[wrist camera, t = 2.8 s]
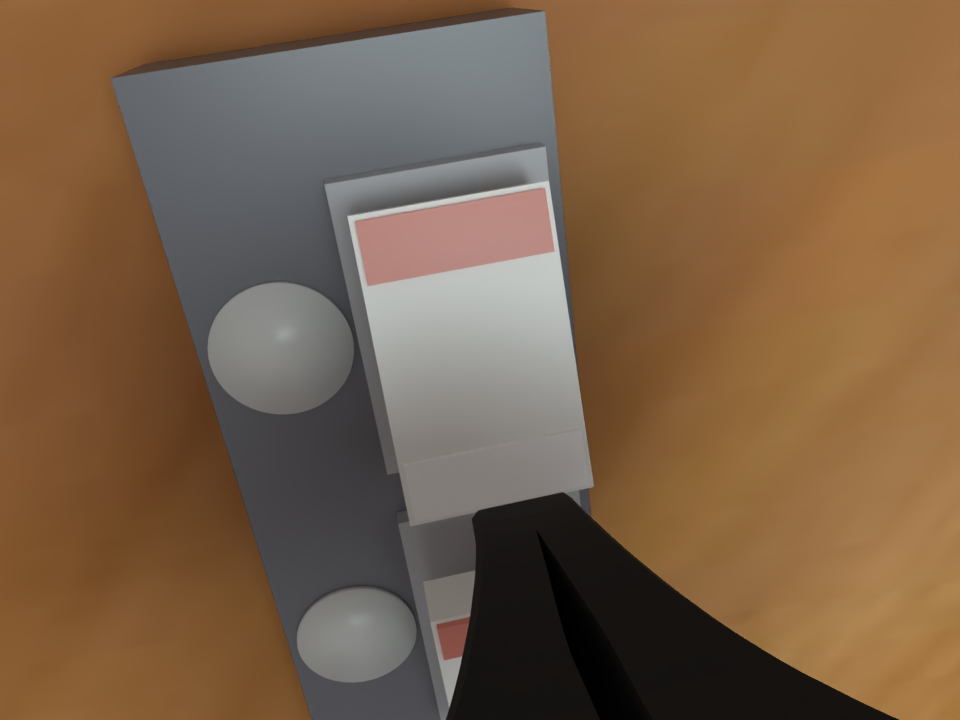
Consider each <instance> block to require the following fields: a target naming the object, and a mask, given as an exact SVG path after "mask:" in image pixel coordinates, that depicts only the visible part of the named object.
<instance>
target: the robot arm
mask: <svg viewBox="0 0 960 720" xmlns="http://www.w3.org/2000/svg"><path fill="white" fill-rule="evenodd" d="M472 524H473V530H474V536H475V542H476V564H475V580H474V589H473V597H472V605H471V614H470V620H469V626H468V631H467V636H466V640H465V645H464V650H463V655H462V660H461V665H460V669H459V674H458V678H457V681H456V685H455V689H454V693H453V697H452V700H451V704H450V707H449V711H448V714H447V717H446V720H899V719H896V718H894V717H892V716H889V715H887V714H885V713H883V712H881V711H879V710H876V709H874V708H872V707H870V706H868V705H866V704H863V703H861V702H859V701H857V700H855V699H853V698H851V697H850V696H848V695H846V694H844V693H842V692H840V691H838V690H836V689H834V688H832V687H830V686H828V685H826V684H824V683H822V682H820V681H818V680H816V679H814V678H812V677H810V676H808V675H806V674H804V673H802V672H800V671H798V670H797V669H795V668H793V667H791V666H789V665H788V664H786V663H784V662H782V661H781V660H779V659H777V658H775V657H774V656H772V655H770V654H769V653H767V652H766V651H764V650H762V649H761V648H759V647H757V646H756V645H754V644H753V643H751V642H749V641H748V640H746V639H744V638H743V637H741V636H740V635H738V634H737V633H735V632H734V631H732V630H731V629H729V628H728V627H726V626H725V625H723V624H722V623H720V622H719V621H717V620H716V619H715V618H713V617H712V616H710V615H709V614H707V613H706V612H705V611H703V610H702V609H701V608H699V607H698V606H696V605H695V604H694V603H692V602H691V601H690V600H688V599H687V598H685V597H684V596H683V595H681V594H680V593H679V592H678V591H676V590H675V589H674V588H672V587H671V586H670V585H668V584H667V583H666V582H665V581H663V580H662V579H661V578H660V577H658V576H657V575H656V574H655V573H654V572H652V571H651V570H650V569H649V568H648V567H646V566H645V565H644V564H643V563H642V562H640V561H639V560H638V559H637V558H635V557H634V556H633V555H632V554H631V553H630V552H628V551H627V550H626V549H625V548H624V547H623V546H622V545H620V544H619V543H618V542H617V541H616V540H615V539H614V538H613V537H612V536H611V535H609V534H608V533H607V532H606V531H605V530H604V529H603V528H602V527H601V526H600V525H599V524H598V523H597V522H596V521H594V520H593V519H592V518H591V517H590V516H589V515H588V514H587V513H586V512H585V511H584V510H583V509H582V508H581V507H580V506H579V505H578V504H577V503H576V502H575V501H574V500H573V499H572V498H571V497H570V496H568V495H567V494H565V493H564V492H561V493H556V494H552V495H547V496H542V497H538V498H533V499H528V500H524V501H519V502H514V503H510V504H505V505H501V506H496V507H491V508H487V509H482V510H478V511H477V513H476V514H475V515H474V516H473V518H472Z"/></svg>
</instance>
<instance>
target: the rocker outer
mask: <svg viewBox="0 0 960 720" xmlns="http://www.w3.org/2000/svg"><path fill="white" fill-rule="evenodd" d="M347 217H348V222H349V227H350V232H351V237H352V242H353V246H354V251H355V256H356V261H357V266H358V271H359V276H360V281H361V286H362V291H363V296H364V301H365V306H366V311H367V316H368V320H369V325H370V330H371V335H372V340H373V345H374V350H375V355H376V360H377V365H378V370H379V375H380V380H381V385H382V390H383V395H384V399H385V404H386V409H387V414H388V419H389V424H390V429H391V434H392V439H393V444H394V449H395V454H396V459H397V464H398V469H399V473H400V478H401V483H402V488H403V493H404V498H405V503H406V508H407V513H408V518H409V523H410V526H415V525H420V524H424V523H429V522H434V521H438V520H443V519H448V518H452V517H457V516H461V515H466V514H471V513H475V512H477V511H478V510H482V509H487V508H491V507H496V506H501V505H505V504H510V503H514V502H519V501H524V500H528V499H533V498H538V497H542V496H547V495H552V494H556V493H561V492H564V493H568V492H573V491H577V490H582V489H587V488H591V487H594V483H593V476H592V469H591V463H590V456H589V449H588V442H587V436H586V429H585V422H584V415H583V408H582V402H581V395H580V388H579V381H578V375H577V368H576V361H575V354H574V347H573V341H572V334H571V327H570V320H569V314H568V307H567V300H566V293H565V286H564V280H563V273H562V266H561V259H560V252H559V246H558V239H557V232H556V225H555V219H554V212H553V205H552V198H551V191H550V185H549V181H540V182H533V183H527V184H521V185H515V186H510V187H504V188H498V189H493V190H487V191H481V192H476V193H470V194H464V195H459V196H453V197H447V198H442V199H436V200H430V201H425V202H419V203H413V204H408V205H402V206H396V207H391V208H385V209H379V210H373V211H368V212H362V213H356V214H351V215H348V216H347Z"/></svg>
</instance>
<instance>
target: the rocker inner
mask: <svg viewBox="0 0 960 720" xmlns="http://www.w3.org/2000/svg"><path fill="white" fill-rule="evenodd" d="M474 580H475V570H474V571H470V572H465V573H461V574H456V575H452V576H447V577H443V578H438V579H434V580H429V581H425V582H423V584H424V589H425V595H426V601H427V607H428V612H429V618H430V623H431V628H432V632H433V637H434V641H435V646H436V650H437V655H438V659H439V664H440V669H441V673H442V678H443V682H444V687H445V691H446V696H447V700H448V705H449V707H450V704H451V700H452V697H453V693H454V689H455V685H456V681H457V678H458V674H459V669H460V665H461V660H462V655H463V650H464V645H465V640H466V636H467V631H468V626H469V620H470V614H471V605H472V597H473V589H474Z"/></svg>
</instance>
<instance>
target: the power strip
mask: <svg viewBox="0 0 960 720" xmlns="http://www.w3.org/2000/svg"><path fill="white" fill-rule="evenodd" d="M111 81H112V84H113V87H114V91H115V94H116V97H117V100H118V103H119V106H120V110H121V113H122V116H123V119H124V122H125V126H126V129H127V132H128V135H129V138H130V142H131V145H132V148H133V151H134V154H135V157H136V161H137V164H138V167H139V170H140V173H141V177H142V180H143V183H144V186H145V189H146V192H147V196H148V199H149V202H150V205H151V208H152V212H153V215H154V218H155V221H156V224H157V228H158V231H159V234H160V237H161V240H162V243H163V247H164V250H165V253H166V256H167V259H168V263H169V266H170V269H171V272H172V275H173V278H174V282H175V285H176V288H177V291H178V294H179V298H180V301H181V304H182V307H183V310H184V313H185V317H186V320H187V323H188V326H189V329H190V333H191V336H192V339H193V342H194V345H195V349H196V352H197V355H198V358H199V361H200V364H201V368H202V371H203V374H204V377H205V380H206V384H207V387H208V390H209V393H210V396H211V399H212V403H213V406H214V409H215V412H216V415H217V419H218V422H219V425H220V428H221V431H222V434H223V438H224V441H225V444H226V447H227V450H228V454H229V457H230V460H231V463H232V466H233V470H234V473H235V476H236V479H237V482H238V485H239V489H240V492H241V495H242V498H243V501H244V505H245V508H246V511H247V514H248V517H249V520H250V524H251V527H252V530H253V533H254V536H255V540H256V543H257V546H258V549H259V552H260V555H261V559H262V562H263V565H264V568H265V571H266V575H267V578H268V581H269V584H270V587H271V591H272V594H273V597H274V600H275V603H276V606H277V610H278V613H279V616H280V619H281V622H282V626H283V629H284V632H285V635H286V638H287V641H288V645H289V648H290V651H291V654H292V657H293V661H294V664H295V667H296V670H297V673H298V677H299V680H300V683H301V686H302V689H303V692H304V696H305V699H306V702H307V705H308V708H309V712H310V715H311V718H312V720H446V717H447V714H448V711H449V705H448V700H447V696H446V691H445V687H444V682H443V678H442V673H441V669H440V664H439V659H438V655H437V650H436V646H435V641H434V637H433V632H432V628H431V623H430V618H429V612H428V607H427V601H426V595H425V589H424V584H423V582H425V581H429V580H434V579H438V578H443V577H447V576H452V575H456V574H461V573H465V572H470V571H474V570H475V564H476V542H475V536H474V530H473V524H472V518H473V516H474V515H475V514H476V513H477V512H475V513H471V514H466V515H461V516H457V517H452V518H448V519H443V520H438V521H434V522H429V523H424V524H420V525H415V526H410V523H409V518H408V513H407V508H406V503H405V498H404V493H403V488H402V483H401V478H400V473H399V469H398V464H397V459H396V454H395V449H394V444H393V439H392V434H391V429H390V424H389V419H388V414H387V409H386V404H385V399H384V395H383V390H382V385H381V380H380V375H379V370H378V365H377V360H376V355H375V350H374V345H373V340H372V335H371V330H370V325H369V320H368V316H367V311H366V306H365V301H364V296H363V291H362V286H361V281H360V276H359V271H358V266H357V261H356V256H355V251H354V246H353V242H352V237H351V232H350V227H349V222H348V217H347V216H348V215H351V214H356V213H362V212H368V211H373V210H379V209H385V208H391V207H396V206H402V205H408V204H413V203H419V202H425V201H430V200H436V199H442V198H447V197H453V196H459V195H464V194H470V193H476V192H481V191H487V190H493V189H498V188H504V187H510V186H515V185H521V184H527V183H533V182H540V181H549V185H550V191H551V198H552V205H553V212H554V219H555V225H556V232H557V239H558V246H559V252H560V259H561V266H562V273H563V280H564V286H565V293H566V300H567V307H568V314H569V320H570V327H571V334H572V341H573V347H574V354H575V361H576V368H577V357H576V347H575V336H574V325H573V314H572V303H571V292H570V281H569V270H568V259H567V248H566V237H565V226H564V215H563V204H562V193H561V182H560V171H559V160H558V149H557V138H556V127H555V116H554V105H553V94H552V83H551V72H550V61H549V50H548V39H547V28H546V17H545V11H540V10H530V9H520V8H507V9H501V10H494V11H488V12H481V13H475V14H468V15H462V16H455V17H449V18H442V19H436V20H429V21H423V22H416V23H410V24H403V25H397V26H390V27H384V28H377V29H371V30H364V31H358V32H351V33H345V34H338V35H332V36H325V37H319V38H312V39H306V40H299V41H293V42H286V43H280V44H273V45H267V46H260V47H254V48H247V49H241V50H234V51H228V52H221V53H215V54H208V55H202V56H195V57H189V58H182V59H176V60H169V61H163V62H156V63H150V64H144V65H141V66H139V67H136V68H134V69H132V70H129V71H127V72H124V73H122V74H120V75H117V76H115V77H113V78H111ZM577 375H578V368H577ZM578 381H579V379H578ZM565 494H567V495H568V496H570V497H571V498H572V499H573V500H574V501H575V502H576V503H577V504H578V505H579V506H580V507H581V508H582V509H583V510H584V511H585V512H586V513H587V514H588V515H589V516H590V517H591V511H590V500H589V489H588V488H587V489H582V490H577V491H573V492H568V493H565Z"/></svg>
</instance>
